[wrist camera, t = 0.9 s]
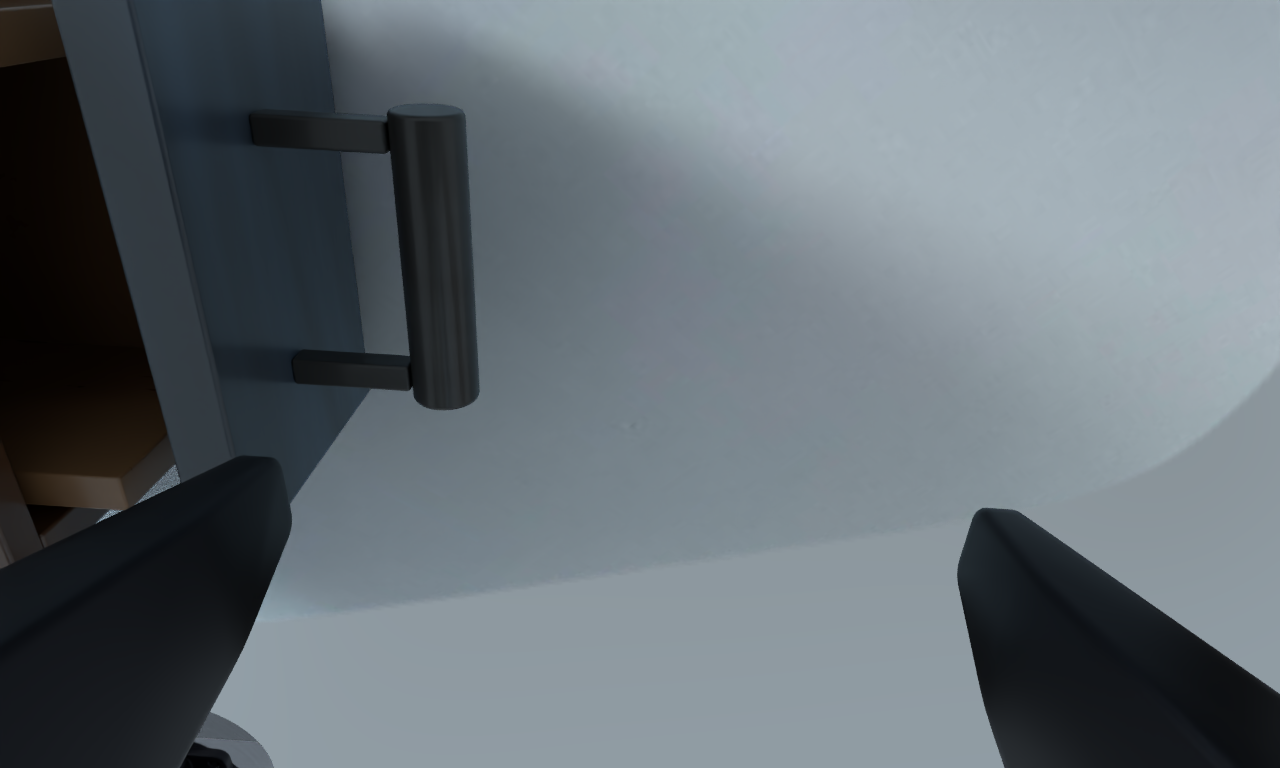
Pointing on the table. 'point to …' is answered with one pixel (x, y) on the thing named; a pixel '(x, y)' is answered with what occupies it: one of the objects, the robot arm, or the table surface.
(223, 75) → the drawer
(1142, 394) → the table surface
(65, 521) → the cabinet
